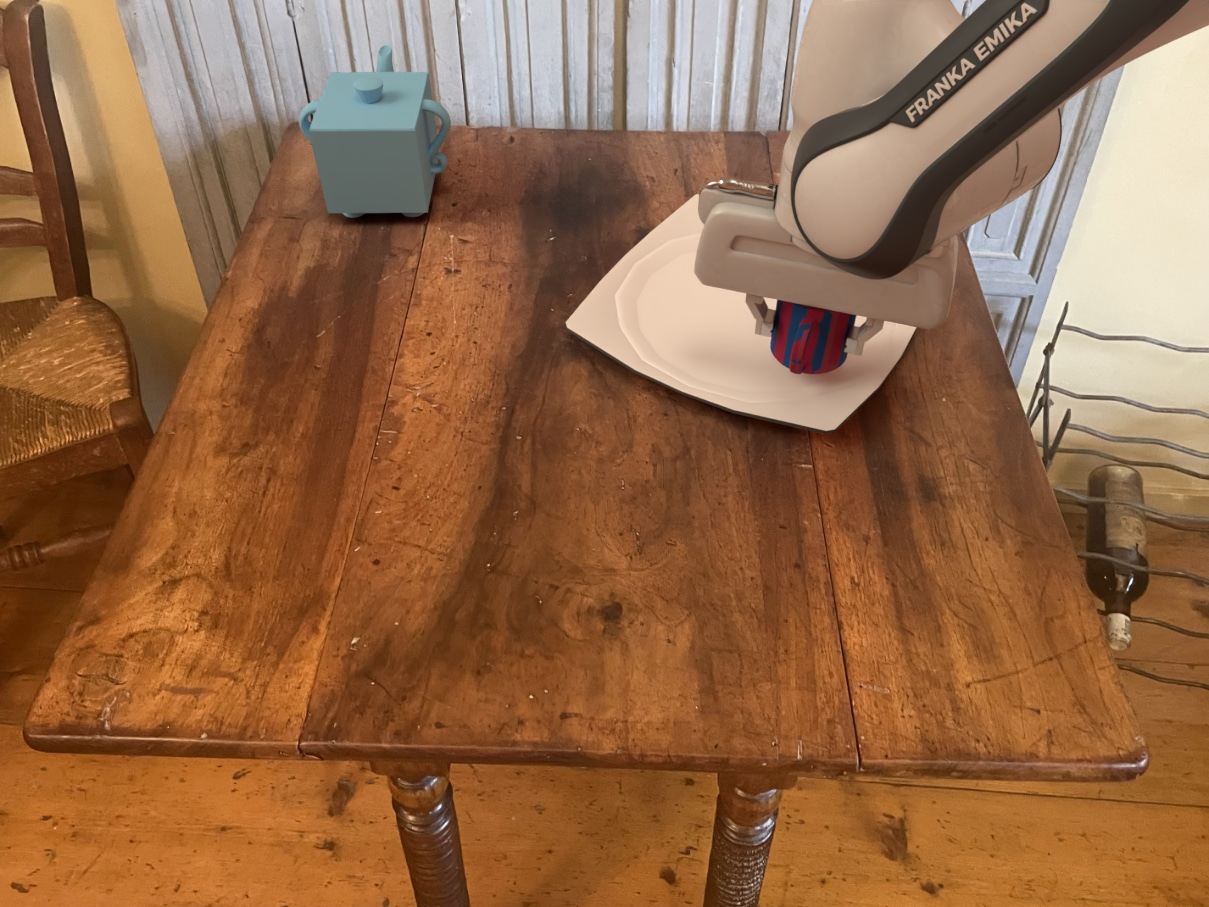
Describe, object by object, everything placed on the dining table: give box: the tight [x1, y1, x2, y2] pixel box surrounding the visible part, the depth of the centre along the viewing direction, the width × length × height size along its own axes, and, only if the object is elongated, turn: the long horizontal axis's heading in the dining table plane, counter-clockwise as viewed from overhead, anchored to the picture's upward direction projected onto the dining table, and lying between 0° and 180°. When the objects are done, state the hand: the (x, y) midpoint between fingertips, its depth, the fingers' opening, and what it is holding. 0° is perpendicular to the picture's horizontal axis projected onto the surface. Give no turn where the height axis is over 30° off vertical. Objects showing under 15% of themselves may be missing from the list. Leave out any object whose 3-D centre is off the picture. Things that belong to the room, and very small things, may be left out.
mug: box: [770, 300, 857, 374], centre depth 83 cm, size 7×10×7 cm
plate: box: [564, 193, 918, 435], centre depth 92 cm, size 29×29×3 cm
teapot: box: [298, 44, 452, 219], centre depth 106 cm, size 18×16×13 cm
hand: (808, 340), depth 83 cm, fingers closed on mug, 6 cm apart
